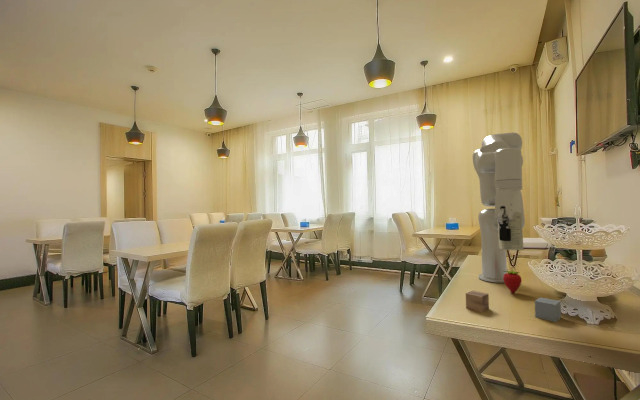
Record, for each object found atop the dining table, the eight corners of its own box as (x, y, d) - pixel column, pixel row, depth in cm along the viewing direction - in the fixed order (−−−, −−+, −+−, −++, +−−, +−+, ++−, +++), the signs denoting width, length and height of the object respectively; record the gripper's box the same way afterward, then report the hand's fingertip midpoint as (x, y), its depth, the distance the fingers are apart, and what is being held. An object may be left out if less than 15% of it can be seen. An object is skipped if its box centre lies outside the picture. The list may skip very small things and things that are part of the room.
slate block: (541, 313, 93) (540, 297, 93) (560, 318, 89) (560, 301, 89) (535, 317, 90) (534, 300, 90) (555, 322, 86) (555, 304, 86)
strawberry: (503, 294, 112) (502, 268, 112) (503, 289, 118) (502, 264, 118) (522, 297, 109) (521, 269, 109) (521, 291, 115) (520, 265, 115)
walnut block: (473, 305, 102) (473, 290, 102) (488, 309, 98) (488, 293, 98) (466, 308, 99) (465, 293, 99) (481, 312, 95) (481, 296, 95)
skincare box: (518, 248, 100) (517, 212, 100) (523, 250, 96) (522, 212, 96) (497, 248, 102) (496, 212, 102) (501, 250, 97) (500, 212, 97)
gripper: (506, 186, 107) (508, 236, 107) (484, 186, 96) (486, 241, 96) (531, 185, 101) (532, 238, 101) (510, 184, 91) (512, 243, 90)
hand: (510, 239), depth 99 cm, fingers closed on skincare box, 6 cm apart
